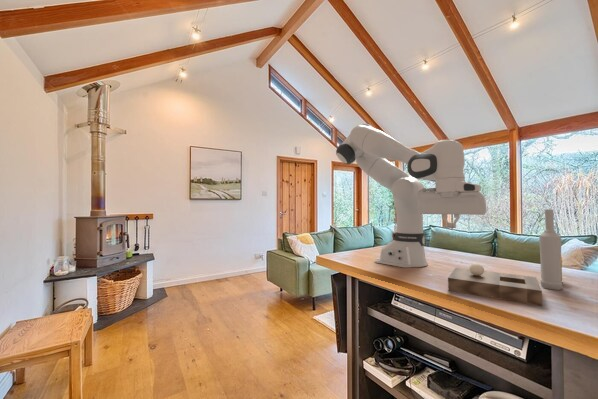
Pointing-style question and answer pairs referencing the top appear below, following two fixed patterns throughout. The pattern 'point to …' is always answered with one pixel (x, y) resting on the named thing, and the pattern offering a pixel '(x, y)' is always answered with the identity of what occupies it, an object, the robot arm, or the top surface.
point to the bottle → (550, 254)
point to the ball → (476, 269)
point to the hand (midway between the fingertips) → (450, 227)
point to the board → (496, 286)
